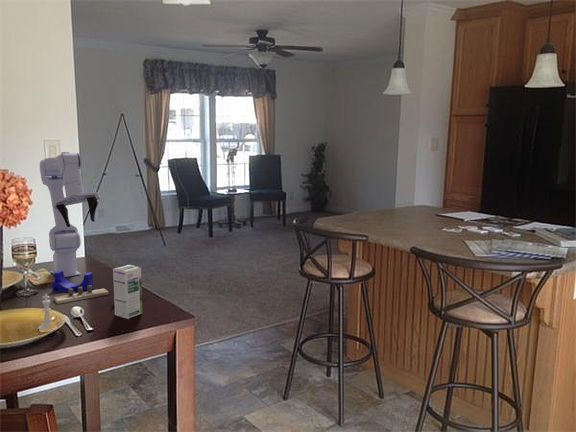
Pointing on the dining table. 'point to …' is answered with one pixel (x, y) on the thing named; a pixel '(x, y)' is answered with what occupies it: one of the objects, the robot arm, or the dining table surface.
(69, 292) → the coat hook rack
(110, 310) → the dining table surface
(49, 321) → the chess piece
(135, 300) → the syrup box
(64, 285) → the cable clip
